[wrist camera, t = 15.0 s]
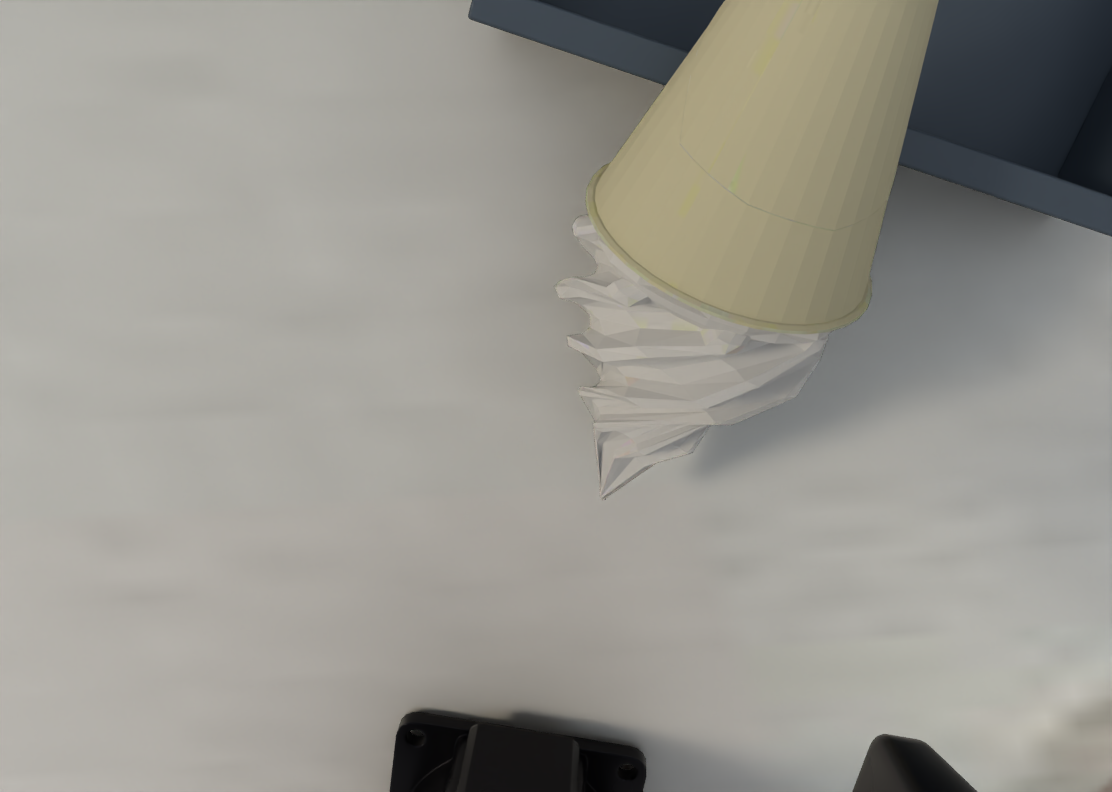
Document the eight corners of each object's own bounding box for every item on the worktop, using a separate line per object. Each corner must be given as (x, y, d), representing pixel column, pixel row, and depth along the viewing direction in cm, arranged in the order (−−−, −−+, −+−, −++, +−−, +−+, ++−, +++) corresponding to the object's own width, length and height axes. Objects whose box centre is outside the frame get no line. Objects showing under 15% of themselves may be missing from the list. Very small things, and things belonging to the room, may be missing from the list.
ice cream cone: (706, -470, 11) (449, 443, 20) (1059, -367, 8) (566, 636, 17) (972, -355, 13) (634, 403, 23) (1306, -248, 11) (761, 565, 20)
